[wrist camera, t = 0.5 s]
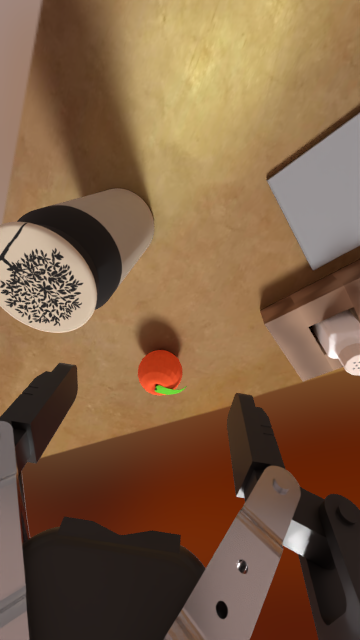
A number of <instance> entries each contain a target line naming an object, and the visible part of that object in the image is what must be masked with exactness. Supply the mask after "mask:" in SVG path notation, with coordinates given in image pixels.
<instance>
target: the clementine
mask: <svg viewBox="0 0 360 640" xmlns="http://www.w3.org/2000/svg"><path fill="white" fill-rule="evenodd" d="M138 377H139V381H140V383H141V385H142V386H143V388H144V389H145V390H146V391H148V392H149V393H151V394H154V395H166V394H176V393H179V392H181V391H182V390H184V389H185V388H184V389H181V390H175V389H176V388H177V386H178V385H179V383H180V381H181V378H182V366H181V364H180V362H179V359H178V358H177V357H176V356H175V355H173V354H172V353H171V352H168V351H165V350H156V351H152V352H150V353H149V354H147V355H146V356H145V357H144V358H143V359H142V361H141V363H140V365H139V369H138Z"/></svg>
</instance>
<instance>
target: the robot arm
mask: <svg viewBox="0 0 360 640" xmlns="http://www.w3.org/2000/svg"><path fill="white" fill-rule="evenodd" d="M77 390H78V384H77V367H76V365H71V364H65V363H59V364H58V365H57V366H56V367H55V368H54V370H53V371H52V372H47V371H46V372H44V373H43V374H41V375H39V376H37V377H36V378H35V379H34V380H33V381H32V382H31V383H30V384H29V386H28V387H27V388H26V389H25V390H24V391H23V392H22V394H20V396H19V397H18V398H17V399H16V400H15V401H14V402H13V403H12V404H11V406H10V407H9V408H8V409H7V410H6V411H5V412H4V413H3V415H2V416H1V417H0V640H250V637H251V634H252V632H253V629H254V626H255V624H256V621H257V619H258V616H259V613H260V611H261V608H262V605H263V602H264V600H265V597H266V595H267V592H268V589H269V586H270V584H271V581H272V578H273V576H274V573H275V571H276V568H277V565H278V563H279V560H280V557H281V554H282V551H283V547H282V545H284V546H286V547H287V548H289V549H291V550H292V551H294V552H296V553H298V555H299V559H300V563H301V567H302V572H303V576H304V580H305V584H306V588H307V593H308V597H309V601H310V605H311V609H312V614H313V618H314V622H315V626H316V630H317V634H318V638H319V640H360V510H359V509H358V508H357V507H356V505H354V504H353V503H352V502H351V501H350V500H348V499H346V498H345V497H343V496H341V495H337V494H330V495H328V496H327V497H326V498H325V499H322V498H321V497H319V496H317V495H315V494H312V493H310V492H308V491H306V490H305V489H303V488H301V487H300V486H299V484H298V482H297V481H296V479H295V478H294V477H293V476H292V475H291V473H289V472H288V471H287V470H286V469H285V466H284V463H283V460H282V458H281V454H280V451H279V448H278V445H277V442H276V439H275V437H274V433H273V430H272V428H271V424H270V421H269V417H268V416H267V414H266V413H265V412H264V411H263V409H262V408H259V407H255V403H254V400H253V397H252V395H247V394H241V393H236V394H235V397H234V399H233V402H232V405H231V408H230V411H229V414H228V419H227V429H228V436H229V445H230V453H231V460H232V468H233V476H234V483H235V491H236V497H242V498H245V504H244V506H243V508H242V509H241V510H240V511H239V513H238V515H237V517H236V518H235V520H234V521H233V523H232V525H231V527H230V528H229V530H228V532H227V533H226V535H225V537H224V539H223V540H222V542H221V544H220V545H219V547H218V549H217V550H216V552H215V554H214V556H213V557H212V559H211V561H210V563H209V564H208V566H207V568H206V569H205V567H204V566H203V564H202V563H201V562H200V561H199V559H198V558H196V556H195V555H194V554H192V553H191V552H190V551H189V550H187V549H186V548H185V547H183V546H181V545H180V535H177V534H170V533H164V532H158V531H147V532H140V533H135V534H128V535H118V534H116V533H114V532H112V531H110V530H108V529H107V528H105V527H103V526H101V525H99V524H97V523H95V522H93V521H88V520H82V519H76V518H69V517H64V518H63V521H62V523H61V525H60V527H55V528H52V529H48V530H46V531H43V532H41V533H39V534H37V535H35V536H34V537H32V538H30V535H29V528H28V522H27V515H26V506H25V497H24V488H23V479H22V472H21V471H22V469H23V467H24V466H25V464H26V463H27V462H31V463H37V462H38V460H39V459H40V457H41V455H42V454H43V452H44V450H45V449H46V447H47V445H48V444H49V442H50V440H51V439H52V437H53V436H54V434H55V432H56V431H57V429H58V427H59V426H60V424H61V422H62V421H63V419H64V417H65V416H66V414H67V412H68V411H69V409H70V407H71V406H72V404H73V402H74V401H75V398H76V395H77Z"/></svg>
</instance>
